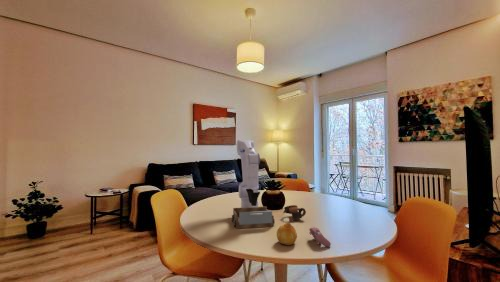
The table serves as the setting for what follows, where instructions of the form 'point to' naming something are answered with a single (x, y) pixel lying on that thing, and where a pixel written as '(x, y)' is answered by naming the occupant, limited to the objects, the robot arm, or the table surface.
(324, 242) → the pink animal figurine
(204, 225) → the table surface
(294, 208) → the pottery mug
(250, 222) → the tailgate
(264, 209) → the cart bed
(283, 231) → the fruit
